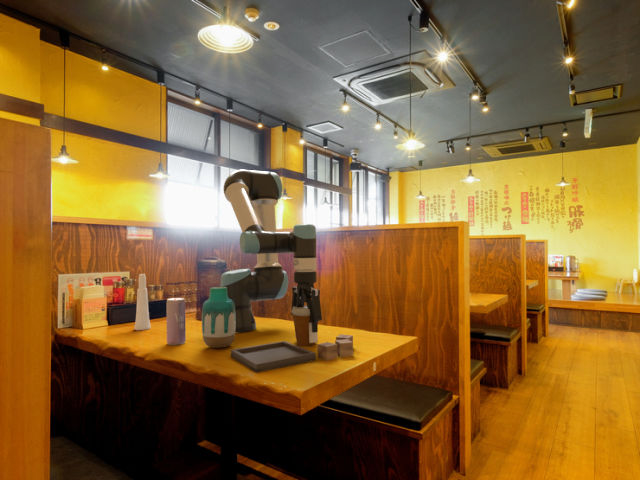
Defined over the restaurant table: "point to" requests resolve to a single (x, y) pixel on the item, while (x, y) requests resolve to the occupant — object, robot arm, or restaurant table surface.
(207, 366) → the restaurant table surface
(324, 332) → the restaurant table surface
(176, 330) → the beverage can
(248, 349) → the tray
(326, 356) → the cube
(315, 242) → the robot arm
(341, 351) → the cube
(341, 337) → the cube
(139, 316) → the cosmetic bottle
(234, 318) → the vase
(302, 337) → the disposable coffee cup
